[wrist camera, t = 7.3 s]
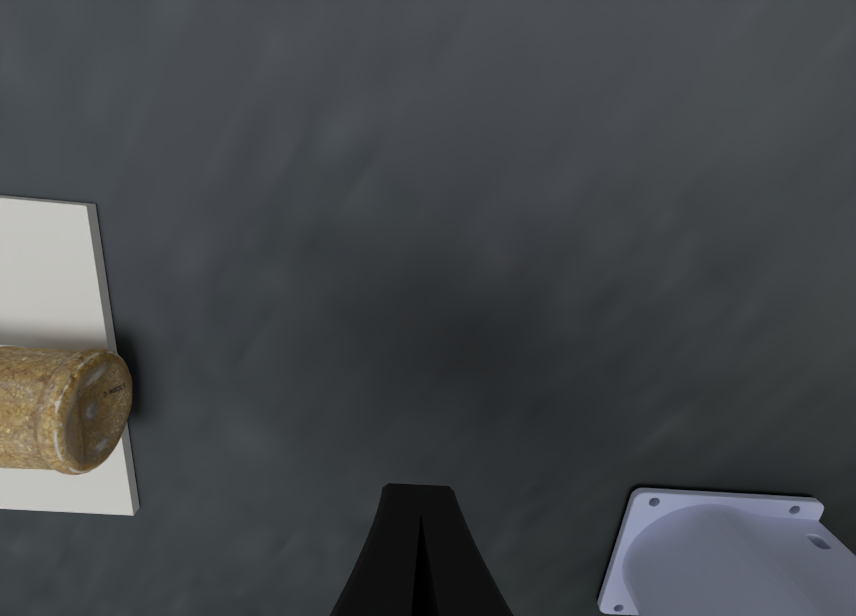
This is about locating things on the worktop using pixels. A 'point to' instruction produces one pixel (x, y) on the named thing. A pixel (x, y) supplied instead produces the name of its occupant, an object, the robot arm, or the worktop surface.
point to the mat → (59, 337)
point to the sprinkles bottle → (61, 407)
